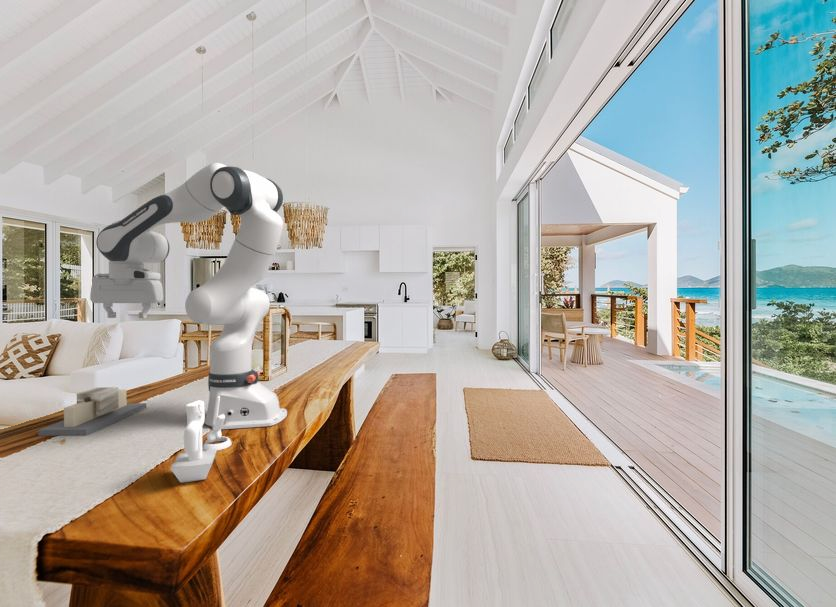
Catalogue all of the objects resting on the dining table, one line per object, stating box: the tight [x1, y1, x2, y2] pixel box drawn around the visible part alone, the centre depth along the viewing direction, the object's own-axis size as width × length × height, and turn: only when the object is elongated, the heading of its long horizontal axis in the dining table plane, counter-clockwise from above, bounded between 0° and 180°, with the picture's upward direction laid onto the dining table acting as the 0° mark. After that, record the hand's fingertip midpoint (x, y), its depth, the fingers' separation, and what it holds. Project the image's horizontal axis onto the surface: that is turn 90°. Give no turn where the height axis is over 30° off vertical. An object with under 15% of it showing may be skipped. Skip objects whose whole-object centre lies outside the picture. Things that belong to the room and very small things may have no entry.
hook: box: [202, 414, 232, 451], centre depth 94 cm, size 6×10×6 cm
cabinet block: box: [76, 386, 119, 415], centre depth 113 cm, size 6×8×6 cm
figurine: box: [169, 400, 218, 484], centre depth 79 cm, size 7×9×15 cm
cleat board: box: [37, 388, 147, 437], centre depth 114 cm, size 12×24×6 cm, turn 2°
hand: (127, 317), depth 123 cm, fingers open, 8 cm apart
